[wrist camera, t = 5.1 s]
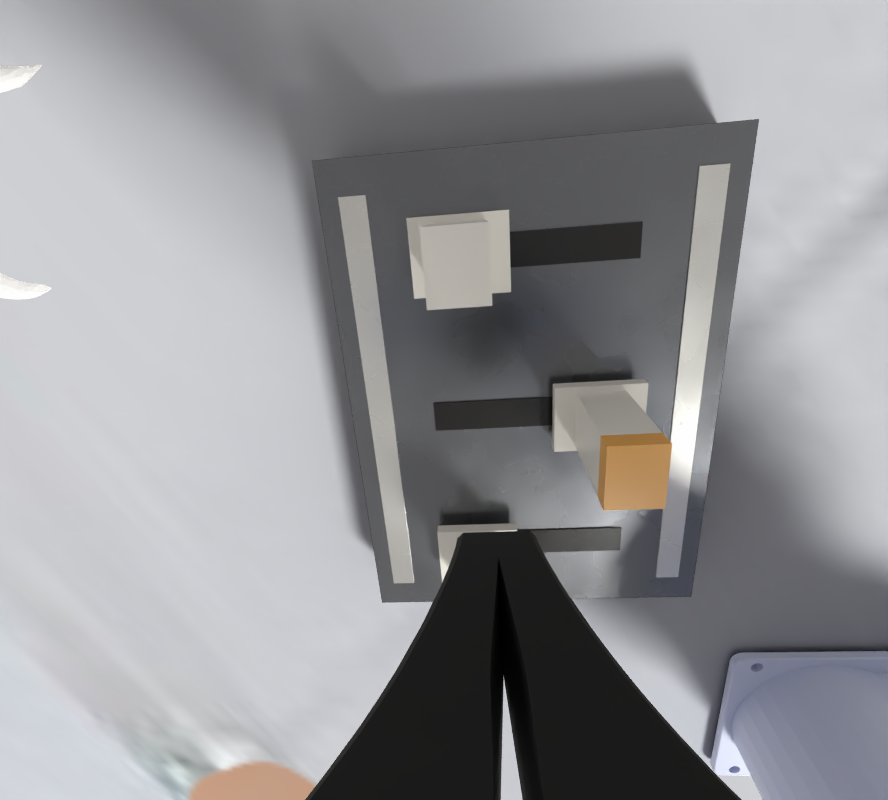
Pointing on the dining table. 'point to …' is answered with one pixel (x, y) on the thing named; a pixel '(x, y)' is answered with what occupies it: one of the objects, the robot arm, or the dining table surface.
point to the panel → (538, 342)
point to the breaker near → (460, 258)
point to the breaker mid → (614, 441)
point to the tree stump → (3, 285)
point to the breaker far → (452, 532)
